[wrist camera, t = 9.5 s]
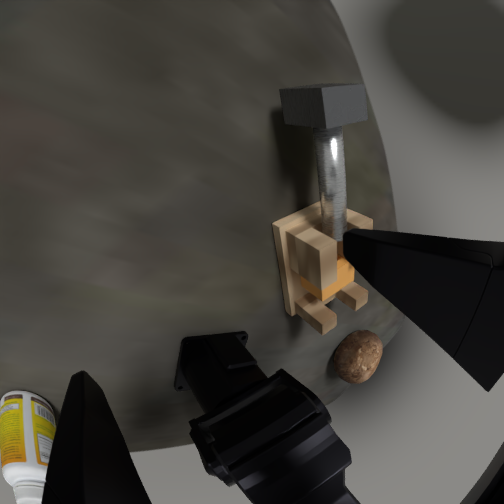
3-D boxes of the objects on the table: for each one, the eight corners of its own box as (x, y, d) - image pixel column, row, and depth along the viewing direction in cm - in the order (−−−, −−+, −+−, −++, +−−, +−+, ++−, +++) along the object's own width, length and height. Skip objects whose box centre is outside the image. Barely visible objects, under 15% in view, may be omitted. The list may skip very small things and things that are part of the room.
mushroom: (368, 370, 42) (389, 381, 36) (323, 379, 41) (341, 393, 35) (369, 323, 43) (392, 329, 37) (324, 329, 42) (342, 337, 35)
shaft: (334, 217, 25) (369, 234, 22) (299, 235, 24) (334, 256, 20) (321, 83, 19) (364, 84, 16) (279, 89, 17) (321, 87, 14)
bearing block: (336, 279, 31) (370, 301, 28) (285, 311, 29) (318, 340, 25) (333, 194, 26) (376, 211, 22) (271, 223, 23) (313, 247, 20)
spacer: (332, 266, 28) (353, 280, 26) (301, 286, 27) (322, 301, 25) (332, 245, 27) (354, 258, 25) (299, 264, 26) (321, 279, 23)
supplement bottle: (-1, 415, 16) (8, 510, 8) (1, 379, 15) (3, 489, 7) (50, 428, 19) (70, 519, 11) (58, 396, 19) (79, 501, 11)
